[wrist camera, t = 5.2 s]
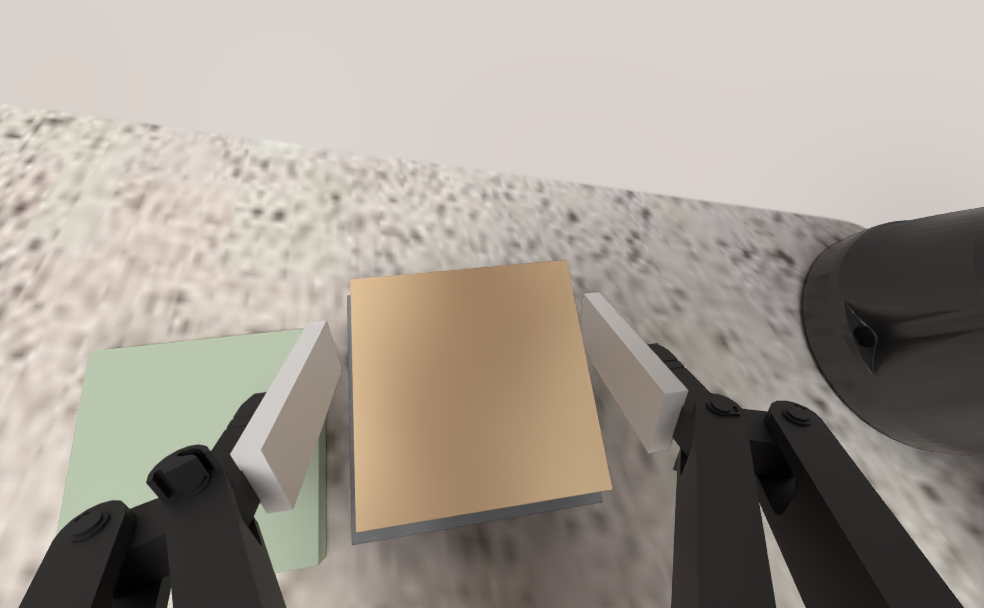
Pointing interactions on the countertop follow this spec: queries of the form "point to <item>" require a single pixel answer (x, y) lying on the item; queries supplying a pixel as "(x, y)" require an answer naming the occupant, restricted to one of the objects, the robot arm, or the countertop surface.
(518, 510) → the pocket frame
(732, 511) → the robot arm
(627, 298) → the countertop surface
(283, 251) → the countertop surface
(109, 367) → the rubber pad
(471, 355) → the oak peg
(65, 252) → the countertop surface
